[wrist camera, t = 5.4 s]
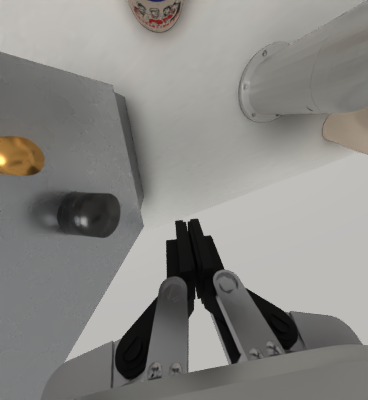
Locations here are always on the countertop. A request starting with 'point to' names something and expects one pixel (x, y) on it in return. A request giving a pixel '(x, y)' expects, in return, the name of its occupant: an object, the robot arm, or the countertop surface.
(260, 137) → the countertop surface
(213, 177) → the countertop surface
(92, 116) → the cooker lid
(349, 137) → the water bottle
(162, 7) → the teacup with lid
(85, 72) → the countertop surface
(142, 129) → the countertop surface
